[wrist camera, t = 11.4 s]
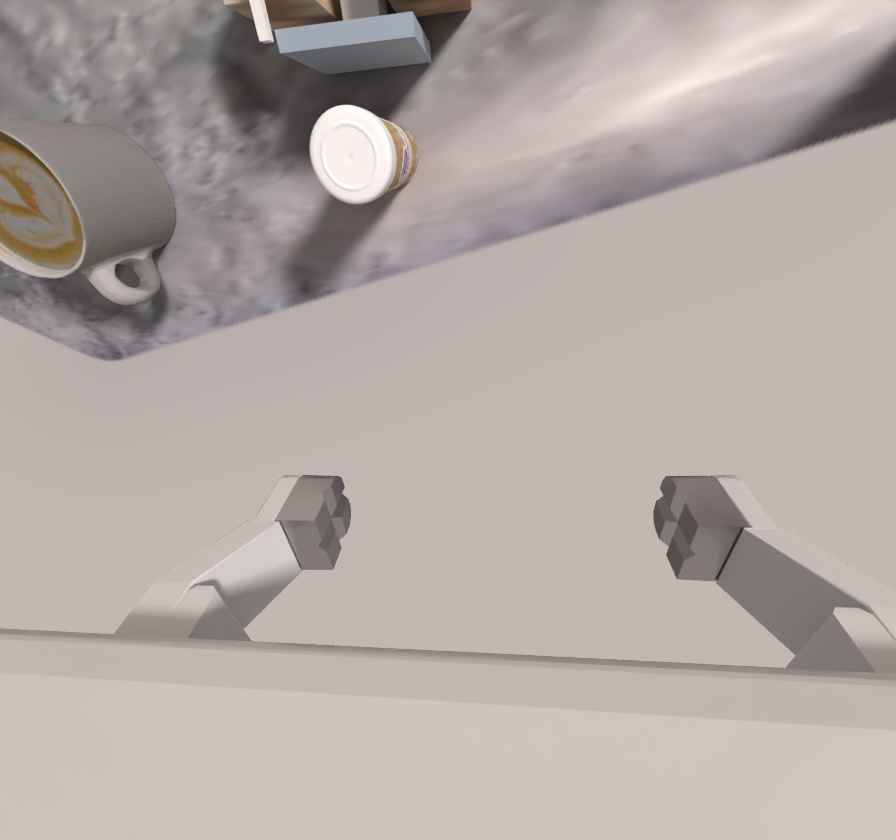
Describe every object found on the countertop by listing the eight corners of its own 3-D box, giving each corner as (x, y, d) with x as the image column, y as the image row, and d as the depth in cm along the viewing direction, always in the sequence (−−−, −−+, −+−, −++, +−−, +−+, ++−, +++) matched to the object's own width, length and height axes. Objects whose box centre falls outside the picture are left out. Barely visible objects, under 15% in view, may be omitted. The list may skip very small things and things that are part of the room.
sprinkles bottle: (420, 186, 34) (396, 204, 22) (367, 188, 34) (317, 207, 23) (416, 118, 31) (385, 100, 20) (358, 121, 31) (297, 106, 20)
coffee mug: (35, 135, 34) (-111, 130, 26) (136, 114, 32) (17, 102, 24) (126, 292, 41) (35, 328, 33) (212, 281, 40) (140, 315, 32)
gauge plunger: (424, -35, 26) (400, -103, 19) (431, 62, 29) (413, 33, 22) (297, -17, 27) (230, -74, 20) (315, 75, 30) (262, 53, 23)
